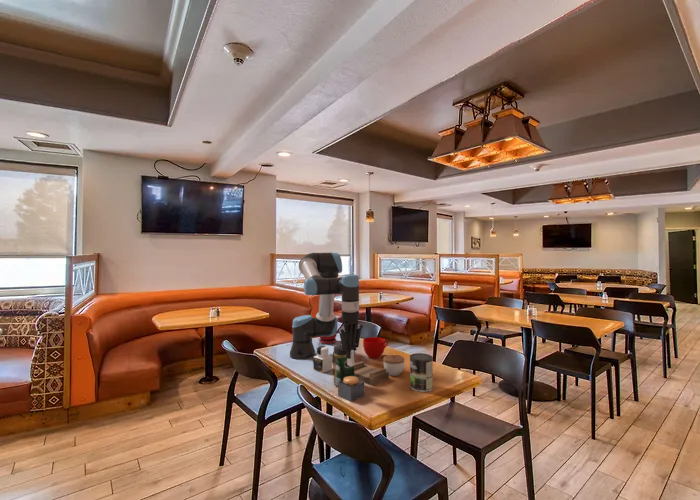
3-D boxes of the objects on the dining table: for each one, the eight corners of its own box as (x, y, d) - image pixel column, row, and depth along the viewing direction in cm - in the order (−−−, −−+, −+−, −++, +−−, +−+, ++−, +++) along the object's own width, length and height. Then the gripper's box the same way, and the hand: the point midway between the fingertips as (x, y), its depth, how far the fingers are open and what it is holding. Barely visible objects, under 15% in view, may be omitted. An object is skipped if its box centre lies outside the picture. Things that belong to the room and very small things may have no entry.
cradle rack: (345, 375, 168) (345, 365, 168) (362, 369, 176) (362, 360, 176) (372, 385, 155) (372, 375, 155) (389, 379, 163) (388, 368, 163)
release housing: (338, 396, 144) (337, 382, 144) (351, 390, 150) (351, 377, 150) (350, 401, 139) (350, 387, 139) (364, 396, 144) (364, 382, 144)
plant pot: (340, 343, 229) (340, 325, 229) (323, 345, 223) (323, 327, 223) (332, 338, 240) (331, 322, 241) (315, 341, 234) (315, 324, 234)
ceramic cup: (394, 356, 198) (394, 339, 199) (372, 362, 189) (372, 344, 189) (380, 351, 209) (380, 335, 209) (358, 356, 200) (358, 339, 200)
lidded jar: (392, 368, 178) (392, 350, 178) (408, 373, 171) (408, 355, 171) (379, 373, 171) (378, 355, 171) (395, 379, 163) (395, 359, 163)
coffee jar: (348, 379, 163) (347, 341, 163) (357, 384, 157) (357, 344, 157) (331, 384, 157) (330, 344, 158) (340, 389, 151) (340, 348, 151)
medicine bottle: (313, 370, 177) (313, 347, 177) (323, 366, 182) (323, 344, 182) (322, 373, 172) (322, 349, 172) (332, 369, 177) (332, 346, 177)
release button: (340, 395, 144) (340, 378, 144) (351, 391, 149) (351, 375, 149) (350, 400, 140) (350, 382, 140) (361, 395, 144) (361, 378, 144)
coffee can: (415, 393, 146) (415, 360, 147) (406, 384, 157) (406, 354, 157) (437, 390, 149) (437, 359, 149) (426, 382, 159) (426, 352, 159)
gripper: (345, 314, 137) (345, 371, 138) (367, 309, 146) (367, 363, 147) (333, 311, 143) (333, 366, 143) (355, 307, 152) (355, 359, 152)
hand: (350, 365), depth 145 cm, fingers closed
